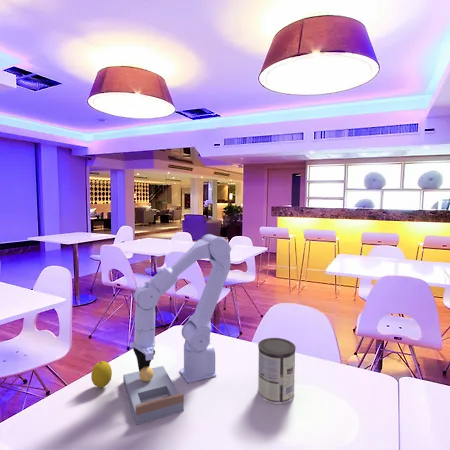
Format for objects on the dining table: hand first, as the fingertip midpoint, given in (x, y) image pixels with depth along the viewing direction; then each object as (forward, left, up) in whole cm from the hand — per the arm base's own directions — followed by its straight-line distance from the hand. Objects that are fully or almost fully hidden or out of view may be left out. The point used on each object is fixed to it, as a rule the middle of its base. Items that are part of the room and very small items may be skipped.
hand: (143, 372), depth 94 cm
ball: (-1, 0, -1) cm, 1 cm away
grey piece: (-1, +6, -4) cm, 7 cm away
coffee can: (-33, +20, -4) cm, 39 cm away
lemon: (+11, -4, -4) cm, 13 cm away
